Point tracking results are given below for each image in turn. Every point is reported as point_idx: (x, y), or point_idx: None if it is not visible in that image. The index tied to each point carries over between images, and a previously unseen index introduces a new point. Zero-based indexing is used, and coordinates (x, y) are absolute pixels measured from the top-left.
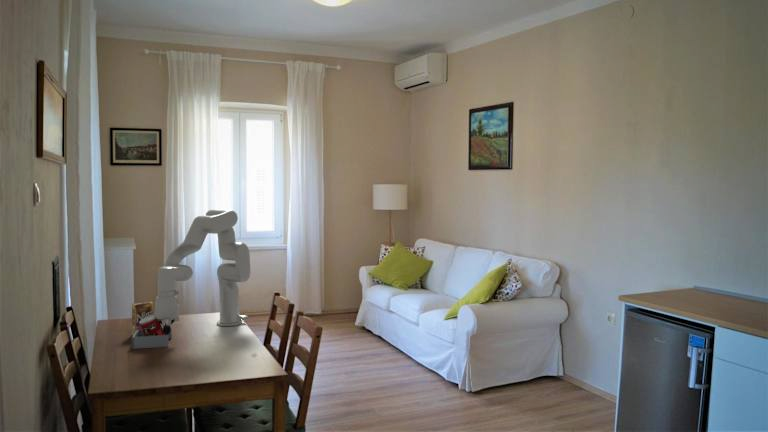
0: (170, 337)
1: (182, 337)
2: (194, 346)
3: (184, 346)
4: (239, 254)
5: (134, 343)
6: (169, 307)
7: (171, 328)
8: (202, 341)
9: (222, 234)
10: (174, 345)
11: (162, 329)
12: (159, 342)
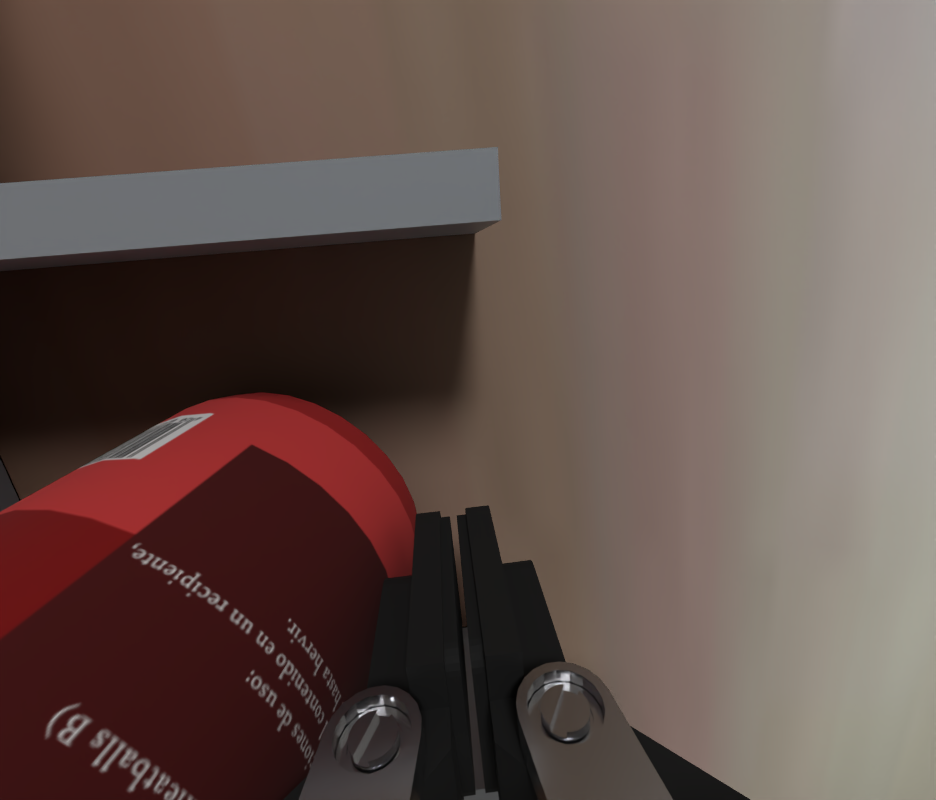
0: (459, 233)
1: (655, 180)
2: (789, 664)
3: (685, 655)
4: None
5: None
6: None
7: (494, 165)
8: (912, 479)
9: None
10: (569, 609)
11: (358, 650)
12: None
